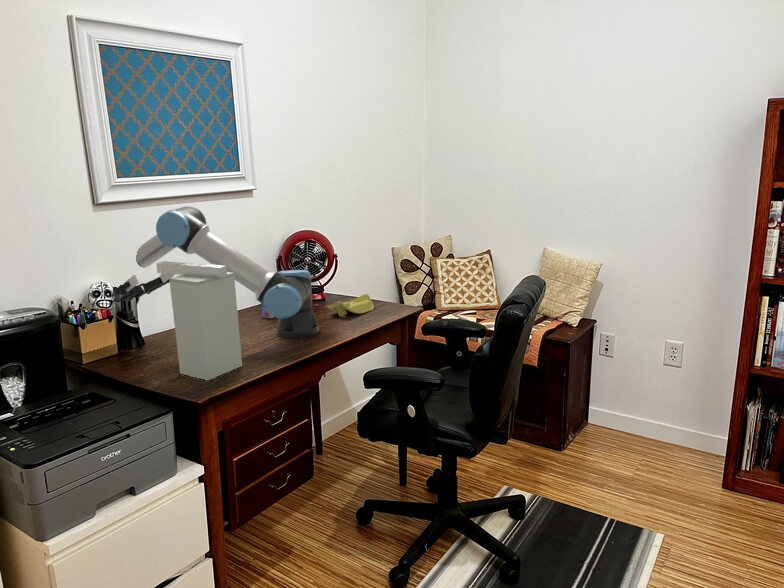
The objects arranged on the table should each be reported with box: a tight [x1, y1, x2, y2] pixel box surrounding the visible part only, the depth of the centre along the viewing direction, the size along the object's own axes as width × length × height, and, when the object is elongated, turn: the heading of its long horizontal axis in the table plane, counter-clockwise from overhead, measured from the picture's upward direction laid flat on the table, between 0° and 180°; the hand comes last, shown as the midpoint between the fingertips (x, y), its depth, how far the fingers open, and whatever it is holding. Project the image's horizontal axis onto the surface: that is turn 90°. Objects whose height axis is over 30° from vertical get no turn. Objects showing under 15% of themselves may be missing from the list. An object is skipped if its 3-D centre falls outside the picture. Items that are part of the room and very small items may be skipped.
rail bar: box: [155, 260, 227, 278], centre depth 186 cm, size 24×3×3 cm, turn 66°
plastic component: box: [327, 293, 375, 318], centre depth 251 cm, size 20×7×10 cm
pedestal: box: [169, 272, 243, 380], centre depth 188 cm, size 12×14×30 cm
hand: (154, 274), depth 199 cm, fingers open, 13 cm apart
